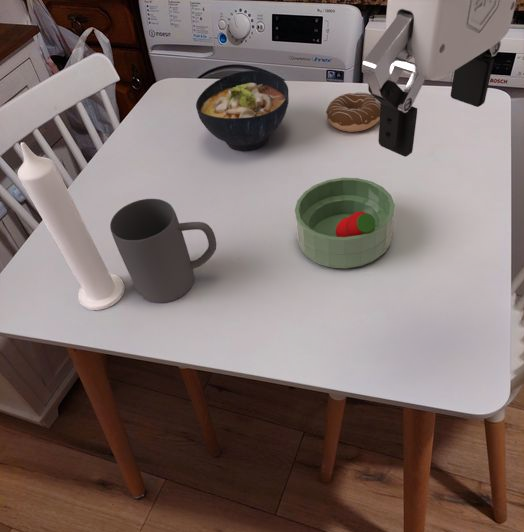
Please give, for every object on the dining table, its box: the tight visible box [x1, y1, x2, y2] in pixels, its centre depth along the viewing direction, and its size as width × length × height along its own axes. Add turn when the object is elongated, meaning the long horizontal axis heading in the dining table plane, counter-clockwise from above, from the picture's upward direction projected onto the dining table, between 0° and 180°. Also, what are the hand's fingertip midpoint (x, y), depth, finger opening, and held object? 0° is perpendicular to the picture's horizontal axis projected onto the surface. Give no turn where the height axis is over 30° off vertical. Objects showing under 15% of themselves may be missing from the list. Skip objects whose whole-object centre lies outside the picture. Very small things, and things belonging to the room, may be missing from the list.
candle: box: [17, 142, 126, 311], centre depth 68 cm, size 7×7×25 cm
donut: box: [325, 91, 381, 133], centre depth 97 cm, size 11×11×4 cm
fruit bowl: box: [294, 177, 396, 269], centre depth 77 cm, size 14×14×6 cm
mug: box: [109, 198, 217, 304], centre depth 73 cm, size 14×9×12 cm
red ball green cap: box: [336, 217, 350, 237], centre depth 76 cm, size 4×4×4 cm
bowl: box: [195, 70, 290, 152], centre depth 96 cm, size 17×17×10 cm
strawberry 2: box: [346, 212, 375, 236], centre depth 72 cm, size 4×4×4 cm
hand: (431, 124), depth 45 cm, fingers open, 9 cm apart
